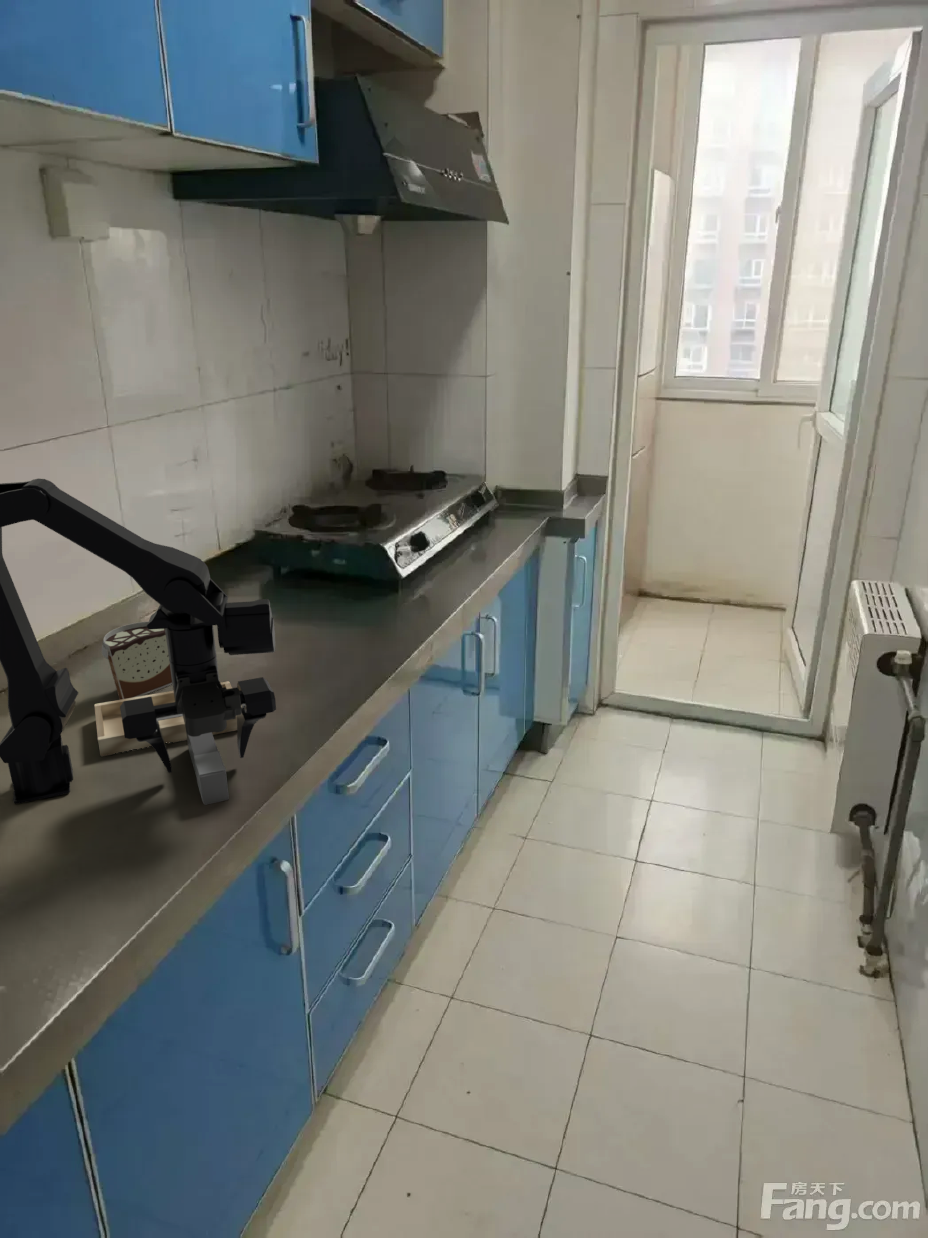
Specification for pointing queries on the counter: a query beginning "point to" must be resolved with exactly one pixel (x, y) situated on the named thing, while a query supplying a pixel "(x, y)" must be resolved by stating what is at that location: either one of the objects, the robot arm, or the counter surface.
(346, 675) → the counter surface
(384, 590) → the counter surface
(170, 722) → the tray
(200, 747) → the tall gray brick
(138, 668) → the food container
